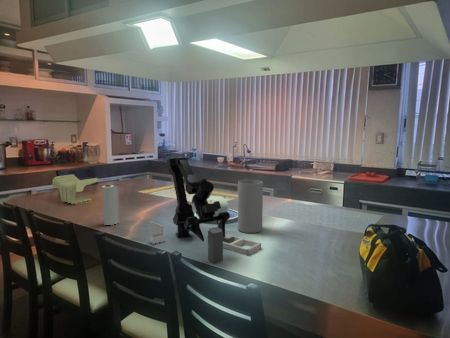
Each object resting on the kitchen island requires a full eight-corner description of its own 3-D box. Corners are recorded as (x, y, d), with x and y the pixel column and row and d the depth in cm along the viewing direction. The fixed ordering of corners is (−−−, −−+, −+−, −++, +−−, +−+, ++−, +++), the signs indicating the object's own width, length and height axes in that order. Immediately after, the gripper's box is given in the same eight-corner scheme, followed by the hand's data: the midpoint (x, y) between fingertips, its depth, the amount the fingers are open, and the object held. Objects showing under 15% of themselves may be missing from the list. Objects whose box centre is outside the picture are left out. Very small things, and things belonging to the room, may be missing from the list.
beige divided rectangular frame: (261, 248, 136) (261, 240, 136) (247, 255, 129) (248, 247, 128) (226, 238, 148) (226, 231, 148) (212, 244, 141) (212, 237, 140)
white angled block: (141, 238, 141) (149, 220, 143) (159, 244, 147) (167, 227, 149) (144, 240, 138) (152, 222, 140) (162, 247, 144) (170, 229, 146)
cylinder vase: (261, 234, 154) (262, 184, 151) (236, 232, 156) (236, 183, 153) (262, 226, 166) (263, 180, 163) (239, 225, 168) (239, 179, 165)
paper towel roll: (101, 225, 168) (99, 186, 166) (109, 222, 174) (107, 184, 171) (112, 226, 166) (110, 187, 163) (119, 223, 171) (118, 185, 169)
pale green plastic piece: (53, 201, 223) (52, 176, 221) (75, 197, 236) (73, 174, 234) (77, 207, 207) (75, 180, 204) (99, 202, 220) (97, 177, 217)
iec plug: (208, 260, 124) (207, 228, 122) (218, 257, 126) (218, 226, 125) (212, 263, 121) (212, 231, 119) (222, 261, 123) (222, 229, 121)
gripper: (186, 197, 121) (198, 233, 113) (227, 192, 130) (242, 225, 122) (179, 212, 129) (190, 247, 121) (219, 207, 138) (231, 238, 130)
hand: (214, 239), depth 123 cm, fingers open, 9 cm apart
